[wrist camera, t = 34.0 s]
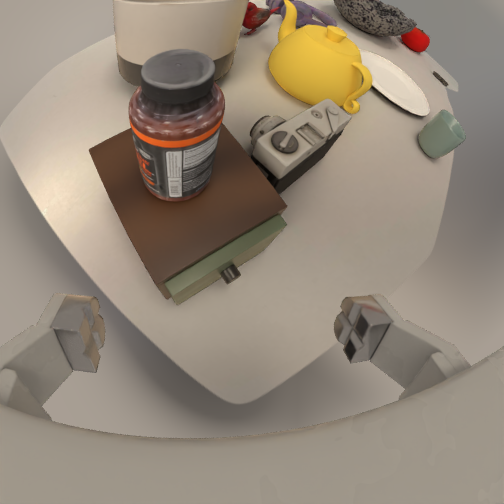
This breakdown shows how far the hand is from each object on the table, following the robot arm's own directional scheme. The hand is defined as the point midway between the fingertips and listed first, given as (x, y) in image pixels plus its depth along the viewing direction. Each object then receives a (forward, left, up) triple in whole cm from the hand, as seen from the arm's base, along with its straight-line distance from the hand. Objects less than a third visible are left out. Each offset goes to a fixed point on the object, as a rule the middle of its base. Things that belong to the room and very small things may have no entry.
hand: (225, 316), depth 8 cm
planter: (+38, -17, -21) cm, 46 cm away
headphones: (+53, -62, -21) cm, 84 cm away
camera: (+13, -20, -21) cm, 32 cm away
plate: (+22, -67, -21) cm, 73 cm away
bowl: (+52, -92, -21) cm, 107 cm away
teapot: (+27, -39, -21) cm, 52 cm away
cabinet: (+12, -5, -21) cm, 24 cm away
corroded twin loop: (+22, -114, -21) cm, 118 cm away
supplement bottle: (+12, -4, -12) cm, 17 cm away
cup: (+3, -57, -21) cm, 61 cm away
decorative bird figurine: (+47, -41, -21) cm, 65 cm away
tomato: (+42, -119, -21) cm, 128 cm away
